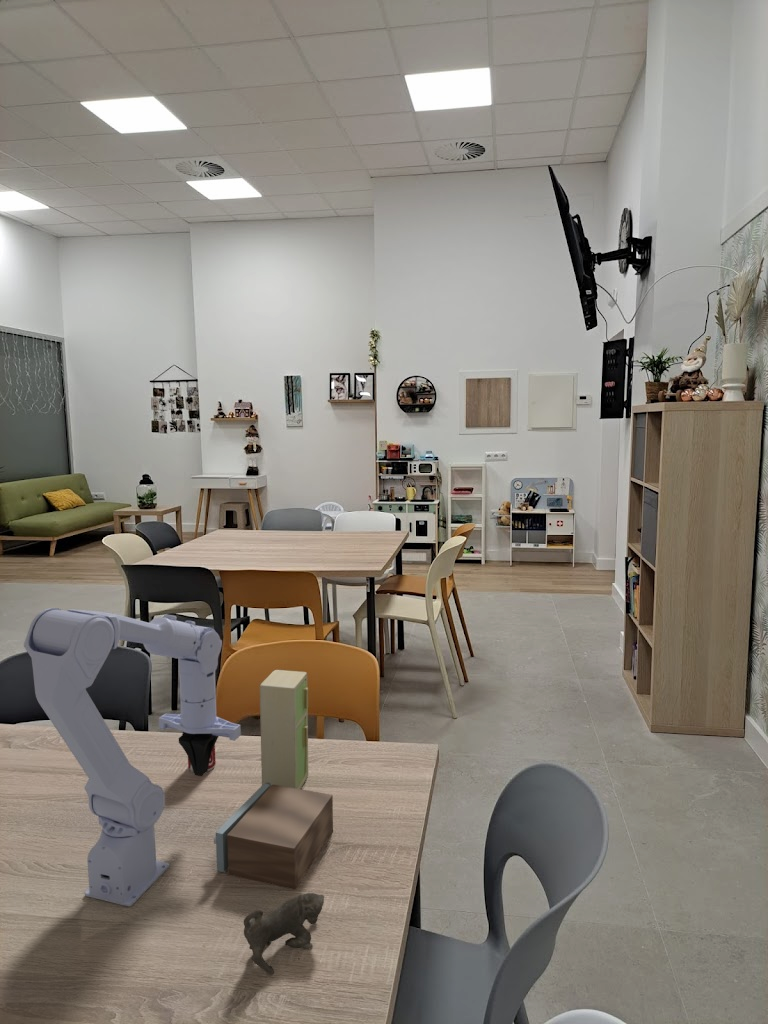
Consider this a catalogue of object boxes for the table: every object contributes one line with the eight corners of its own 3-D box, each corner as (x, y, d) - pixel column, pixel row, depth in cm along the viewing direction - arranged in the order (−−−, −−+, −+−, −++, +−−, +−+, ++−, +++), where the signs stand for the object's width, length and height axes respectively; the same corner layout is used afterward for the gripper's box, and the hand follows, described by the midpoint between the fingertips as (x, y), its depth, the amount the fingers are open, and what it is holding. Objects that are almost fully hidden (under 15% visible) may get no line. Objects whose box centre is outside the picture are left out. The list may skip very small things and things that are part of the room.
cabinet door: (223, 872, 104) (222, 834, 103) (211, 869, 105) (209, 831, 104) (273, 816, 119) (272, 782, 118) (261, 814, 120) (260, 780, 119)
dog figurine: (256, 984, 84) (254, 929, 83) (236, 954, 89) (234, 902, 88) (339, 938, 91) (338, 887, 90) (316, 914, 96) (315, 865, 95)
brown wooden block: (295, 889, 101) (294, 848, 100) (228, 874, 104) (227, 834, 103) (333, 831, 115) (332, 794, 114) (273, 819, 118) (272, 784, 117)
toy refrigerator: (299, 798, 125) (297, 687, 122) (261, 794, 126) (258, 684, 123) (312, 776, 133) (311, 671, 130) (276, 772, 134) (274, 669, 131)
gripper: (248, 692, 116) (250, 768, 118) (174, 682, 121) (178, 755, 122) (227, 709, 110) (229, 789, 111) (149, 697, 114) (153, 775, 116)
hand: (201, 773), depth 116 cm, fingers closed
